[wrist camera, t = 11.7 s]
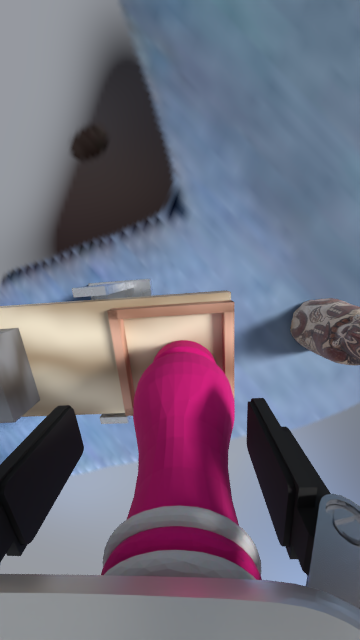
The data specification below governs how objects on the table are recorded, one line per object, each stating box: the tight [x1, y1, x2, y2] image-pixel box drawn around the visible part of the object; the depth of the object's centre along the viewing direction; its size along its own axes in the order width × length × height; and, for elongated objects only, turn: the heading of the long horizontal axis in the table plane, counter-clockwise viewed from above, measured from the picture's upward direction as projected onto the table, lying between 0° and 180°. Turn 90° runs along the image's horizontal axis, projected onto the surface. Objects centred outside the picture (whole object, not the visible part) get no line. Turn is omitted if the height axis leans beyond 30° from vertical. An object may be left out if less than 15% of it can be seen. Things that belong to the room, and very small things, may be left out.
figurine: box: [290, 298, 360, 365], centre depth 19 cm, size 7×7×12 cm
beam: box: [0, 291, 234, 423], centre depth 17 cm, size 12×25×4 cm, turn 94°
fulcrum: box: [72, 279, 153, 424], centre depth 22 cm, size 15×8×8 cm, turn 4°
